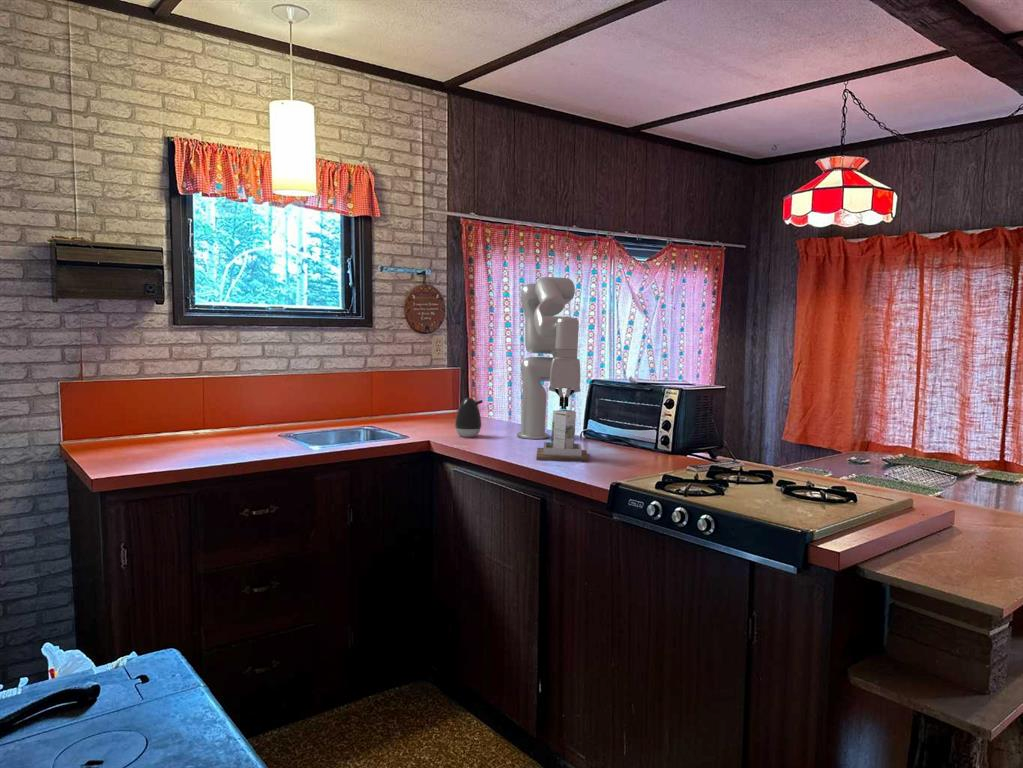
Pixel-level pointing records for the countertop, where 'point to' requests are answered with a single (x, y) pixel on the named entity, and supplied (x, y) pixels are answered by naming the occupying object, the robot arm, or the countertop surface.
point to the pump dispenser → (468, 418)
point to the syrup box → (563, 429)
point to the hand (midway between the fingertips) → (563, 408)
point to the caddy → (562, 453)
